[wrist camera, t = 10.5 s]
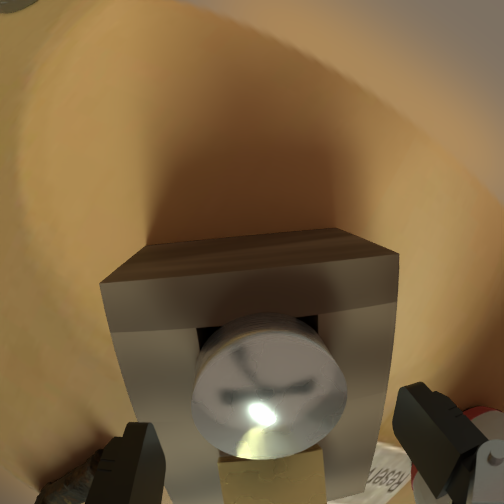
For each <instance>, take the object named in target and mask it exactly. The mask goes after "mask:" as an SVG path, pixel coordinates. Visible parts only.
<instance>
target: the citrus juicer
mask: <svg viewBox="0 0 504 504" xmlns="http://www.w3.org/2000/svg"><path fill="white" fill-rule="evenodd" d="M463 415H466V416H467V417H468V418H469V419H470V420H471V422H472V423H473V424H474V425H475V426H476V427H477V428H478V429H479V430H480V431H481V432H482V433H483V434H484V435H485V436H486V438H487V439H488V440H495V439H498V440H504V413H502V411H500V410H497V409H493V408H489V407H484V406H478V407H474V408H471V409H469V410H466V411H464V412H463ZM411 483H412V489H413V491H414V497H415V502H416V504H448V503H449V501H450V499H451V498H450V497H449V495H448V494H447V495H445V496H443V497H441V498H439V499H436V498H435V497H434V495H433V494H432V492H431V491H430V489H429V487H428V486H427V484H426V483H425V481H424V480H423V478H422V476H421V475H420V473H419V472H418V470H417V469H416V467H415V465H414V464H412V467H411Z"/></svg>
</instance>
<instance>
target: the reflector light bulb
mask: <svg viewBox="0 0 504 504" xmlns="http://www.w3.org/2000/svg"><path fill="white" fill-rule="evenodd" d="M346 401H347V385H346V381H345V378H344V375H343V373H342V371H341V370H340V368H339V366H338V365H337V363H336V361H335V360H334V358H333V357H332V355H331V353H330V352H329V350H328V349H327V347H326V345H325V344H324V342H323V341H322V339H321V337H320V336H319V335H318V334H317V332H316V331H315V330H314V329H313V328H311V327H310V326H309V325H308V324H306V323H305V322H303V321H301V320H299V319H297V318H295V317H292V316H289V315H285V314H280V313H270V312H265V313H255V314H249V315H245V316H242V317H239V318H236V319H234V320H232V321H230V322H228V323H226V324H225V325H223V326H222V327H220V328H219V329H218V330H216V331H215V332H214V333H213V334H212V335H211V336H210V337H209V338H208V340H207V341H206V342H205V343H204V345H203V347H202V349H201V350H200V353H199V356H198V358H197V363H196V370H195V377H194V385H193V393H192V401H191V411H192V417H193V420H194V423H195V425H196V427H197V429H198V431H199V432H200V433H201V435H202V436H203V437H204V438H205V439H206V440H207V441H208V442H209V443H210V444H212V445H213V446H214V447H216V448H218V449H219V450H221V451H223V452H225V453H228V454H230V455H233V456H237V457H241V458H246V459H255V460H267V459H277V458H282V457H286V456H290V455H293V454H296V453H299V452H301V451H303V450H305V449H307V448H309V447H311V446H313V445H314V444H316V443H317V442H319V441H320V440H321V439H323V438H324V437H325V436H326V435H327V434H328V433H329V432H330V431H331V430H332V429H333V428H334V427H335V425H336V424H337V423H338V421H339V420H340V418H341V416H342V414H343V412H344V409H345V406H346Z"/></svg>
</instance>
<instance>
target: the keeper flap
mask: <svg viewBox="0 0 504 504" xmlns="http://www.w3.org/2000/svg"><path fill="white" fill-rule="evenodd" d="M217 465H218V471H219V477H220V483H221V490H222V495H223V501H224V504H327V500H326V486H325V473H324V461H323V450H322V448H321V447H320V446H319V445H318V444H317V445H313V446H311V447H309V448H307V449H305V450H303V451H301V452H299V453H296V454H293V455H290V456H286V457H282V458H277V459H267V460H255V459H246V458H241V457H237V456H226V457H219V458H218V462H217Z"/></svg>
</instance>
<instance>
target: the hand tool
mask: <svg viewBox="0 0 504 504" xmlns="http://www.w3.org/2000/svg"><path fill="white" fill-rule="evenodd" d="M102 453H103V450H98V451H96V452H95V455H93V456H92V457H91V458H89V459H87V462H86V463H85V464H84V465H81V466H79V467H77V468H75V469H74V470H73V471H72V472H71V473H68V474H67V475H65V476H64V477H62V478H61V479H59V480H57V481H55V482H54V483H50V482H49V483H48V484H46V485H45V487H44V488H43V489H42V490H41V493H40V494H39V495H38V496H37V499H36V502H35V504H81V503H83V502H86V499H87V496H88V493H89V490H90V487H91V484H92V481H93V478H94V475H95V473H96V471H97V467H98V464H99V461H101V456H102Z"/></svg>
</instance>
